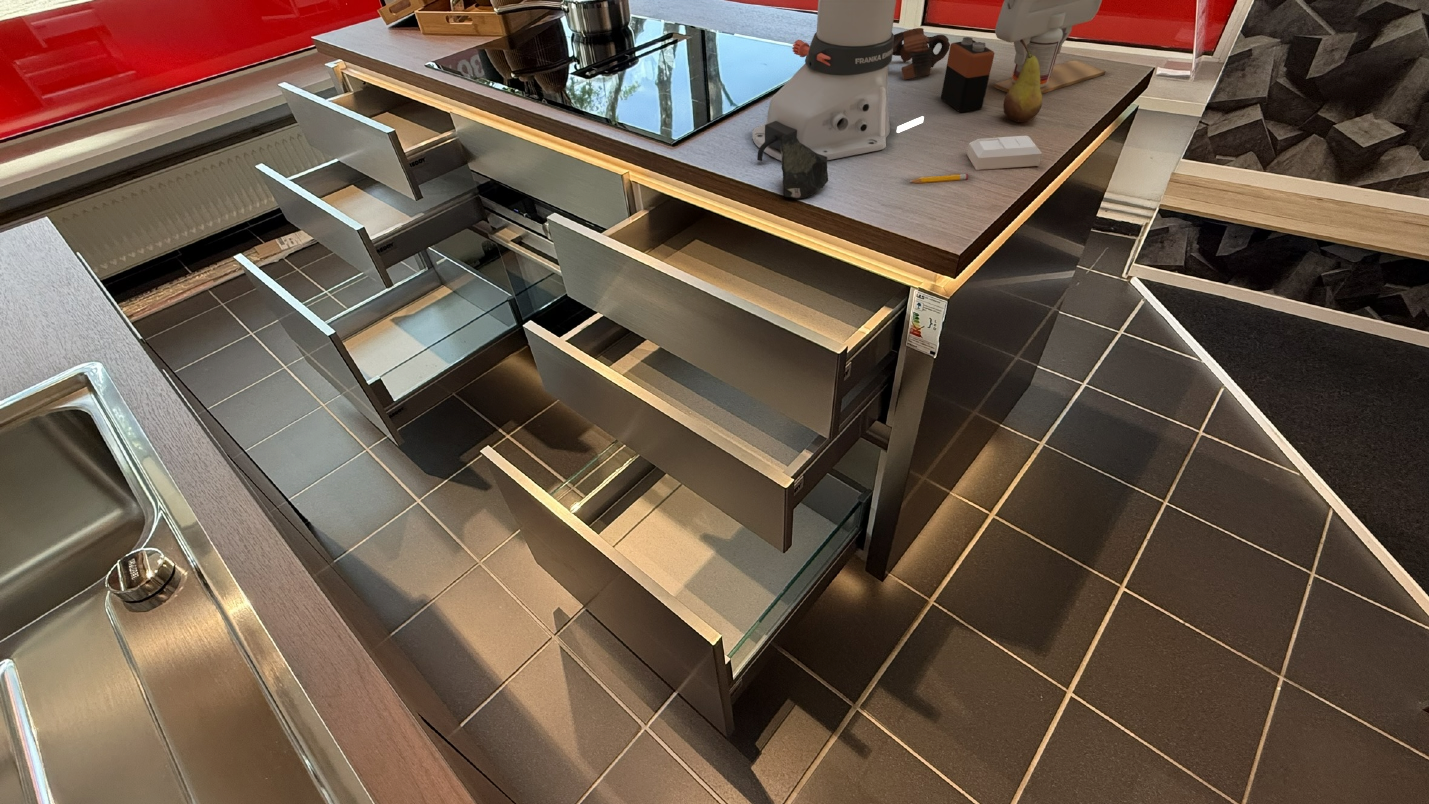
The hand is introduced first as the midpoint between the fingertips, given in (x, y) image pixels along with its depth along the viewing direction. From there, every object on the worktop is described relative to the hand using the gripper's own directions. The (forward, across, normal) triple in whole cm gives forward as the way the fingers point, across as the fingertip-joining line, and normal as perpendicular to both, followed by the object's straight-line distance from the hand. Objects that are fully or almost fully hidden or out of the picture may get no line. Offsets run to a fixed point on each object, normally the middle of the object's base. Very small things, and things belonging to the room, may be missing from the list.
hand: (1036, 59), depth 117 cm
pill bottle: (+4, 0, 0) cm, 4 cm away
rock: (0, -54, -10) cm, 55 cm away
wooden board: (+5, +5, 0) cm, 7 cm away
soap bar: (+5, -25, -18) cm, 31 cm away
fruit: (+5, -12, -9) cm, 16 cm away
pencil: (+4, -37, -18) cm, 41 cm away
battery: (+5, -15, +1) cm, 16 cm away
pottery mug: (+5, -11, +18) cm, 22 cm away
